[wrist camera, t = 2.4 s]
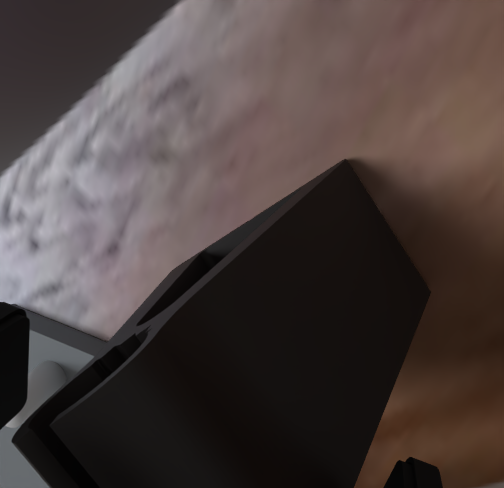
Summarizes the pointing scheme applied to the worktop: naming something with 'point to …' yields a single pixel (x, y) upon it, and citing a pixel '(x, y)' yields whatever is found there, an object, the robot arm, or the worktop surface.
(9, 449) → the base plate
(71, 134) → the worktop surface
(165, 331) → the phone stand
